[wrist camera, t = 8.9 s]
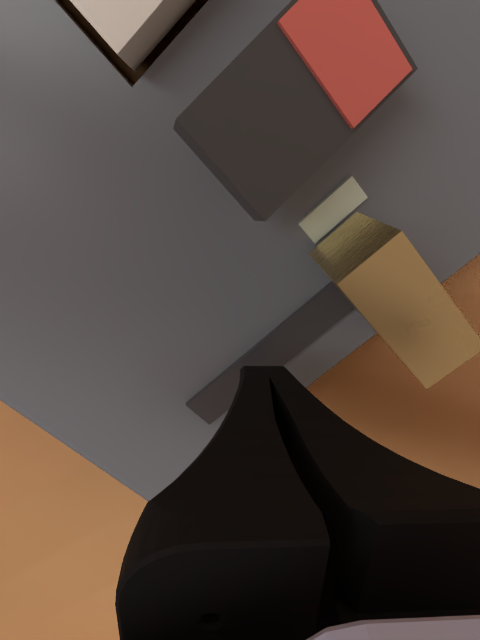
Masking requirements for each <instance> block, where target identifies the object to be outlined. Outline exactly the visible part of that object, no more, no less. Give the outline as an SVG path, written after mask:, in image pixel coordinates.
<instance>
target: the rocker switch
mask: <svg viewBox="0 0 480 640" xmlns="http://www.w3.org/2000/svg"><path fill="white" fill-rule="evenodd" d="M417 69H418V68H417V66H416V64H415V63H414V61H413V59H412V58H411V56H410V54H409V53H408V51H407V49H406V48H405V46H404V44H403V43H402V41H401V39H400V38H399V36H398V34H397V33H396V31H395V29H394V28H393V26H392V24H391V23H390V21H389V19H388V18H387V16H386V14H385V13H384V11H383V9H382V8H381V6H380V4H379V3H378V1H377V0H292V1H291V2H290V3H289V4H288V5H287V6H286V7H285V8H284V9H283V10H282V11H281V12H280V13H279V14H278V15H277V16H276V17H275V18H274V19H273V20H272V21H271V22H270V23H269V24H268V25H267V26H266V27H265V28H264V29H263V30H262V31H261V32H260V33H259V34H258V35H257V36H256V37H255V38H254V39H253V40H252V41H251V42H250V43H249V44H248V45H247V47H246V48H245V49H244V50H243V51H242V52H241V53H240V54H239V55H238V56H237V57H236V58H235V59H234V60H233V61H232V62H231V63H230V64H229V65H228V66H227V67H226V68H225V69H224V70H223V71H222V72H221V73H220V74H219V75H218V76H217V77H216V78H215V79H214V80H213V81H212V82H211V83H210V84H209V85H208V86H207V87H206V88H205V89H204V90H203V91H202V92H201V93H200V94H199V95H198V96H197V97H196V99H195V100H194V101H193V102H192V103H191V104H190V105H189V106H188V107H187V108H186V109H185V110H184V111H183V112H182V113H181V114H180V115H179V116H178V117H177V118H176V120H175V124H174V128H173V129H174V131H175V132H176V133H177V134H178V135H179V136H180V137H181V138H182V140H183V141H184V142H185V143H186V144H187V145H188V146H189V147H190V149H191V150H192V151H193V152H194V153H195V154H196V155H197V157H198V158H199V159H200V160H201V161H202V162H203V163H204V164H205V166H206V167H207V168H208V169H209V170H210V171H211V172H212V173H213V175H214V176H215V177H216V178H217V179H218V180H219V181H220V183H221V184H222V185H223V186H224V187H225V188H226V189H227V190H228V192H229V193H230V194H231V195H232V196H233V197H234V198H235V199H236V201H237V202H238V203H239V204H240V205H241V206H242V207H243V209H244V210H245V211H246V212H247V213H248V214H249V215H250V216H251V218H252V219H253V220H254V221H266V220H267V219H268V218H269V217H270V216H271V215H272V214H273V213H274V212H275V211H276V210H277V209H278V208H279V207H280V206H281V205H282V204H283V203H284V202H285V201H286V200H287V199H288V198H289V197H290V196H291V195H292V194H293V193H294V192H295V191H296V190H297V189H298V188H299V187H300V186H301V185H302V184H303V183H304V182H305V181H306V180H307V179H308V178H309V177H310V176H311V175H312V174H313V173H314V172H315V171H316V170H317V169H318V168H319V167H320V166H321V165H322V164H323V163H324V162H325V161H326V160H327V159H328V158H329V157H330V156H331V155H332V154H333V153H334V152H335V151H336V150H337V149H338V148H339V147H340V146H341V145H342V144H343V143H344V142H345V141H346V140H347V139H348V138H349V137H350V136H351V135H352V134H353V133H354V132H355V131H356V130H357V129H358V128H359V127H360V126H361V125H362V124H363V123H364V122H365V121H366V120H367V119H368V118H369V117H370V116H371V115H372V114H373V113H374V112H375V111H376V110H377V109H378V108H379V107H380V106H381V105H382V104H383V103H384V102H385V101H386V100H387V99H388V98H389V97H390V96H391V95H392V94H393V93H394V92H395V91H396V90H397V89H398V88H399V87H400V86H401V85H402V84H403V83H404V82H405V81H406V80H407V79H408V78H409V77H410V76H411V75H412V74H413V73H414V72H415V71H416V70H417Z"/></svg>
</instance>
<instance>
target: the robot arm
mask: <svg viewBox="0 0 480 640" xmlns="http://www.w3.org/2000/svg"><path fill="white" fill-rule="evenodd" d="M115 606H116V613H117V620H118V628H119V635H120V640H480V489H479V488H476V487H473V486H470V485H468V484H465V483H462V482H460V481H457V480H454V479H452V478H449V477H446V476H444V475H441V474H439V473H437V472H434V471H432V470H430V469H428V468H425V467H423V466H421V465H419V464H416V463H414V462H412V461H410V460H408V459H406V458H404V457H402V456H400V455H398V454H396V453H395V452H393V451H391V450H389V449H387V448H386V447H384V446H382V445H380V444H378V443H377V442H375V441H373V440H372V439H370V438H368V437H367V436H365V435H364V434H362V433H361V432H359V431H358V430H356V429H355V428H353V427H352V426H350V425H349V424H348V423H346V422H345V421H343V420H342V419H341V418H340V417H338V416H337V415H336V414H335V413H333V412H332V411H331V410H330V409H328V408H327V407H326V406H325V405H324V404H322V403H321V402H320V401H319V400H318V399H317V398H316V397H315V396H314V395H312V394H311V393H310V392H309V391H308V390H307V389H306V388H305V387H304V386H303V385H302V384H301V383H300V382H299V381H298V380H297V379H296V378H295V377H294V376H293V375H292V374H291V373H290V372H289V371H288V370H287V369H286V368H285V367H284V366H243V367H242V368H241V369H240V382H239V385H238V389H237V391H236V394H235V397H234V400H233V402H232V404H231V406H230V408H229V410H228V412H227V414H226V416H225V418H224V420H223V422H222V423H221V425H220V427H219V428H218V430H217V432H216V433H215V435H214V436H213V438H212V439H211V440H210V442H209V443H208V444H207V446H206V447H205V448H204V449H203V451H202V452H201V453H200V454H199V456H198V457H197V458H196V459H195V460H194V461H193V462H192V463H191V464H190V465H189V466H188V467H187V468H186V469H185V470H184V471H183V472H182V473H181V474H180V476H179V477H178V478H176V479H175V480H174V481H173V482H172V483H171V484H170V485H168V486H167V487H166V488H165V489H163V490H162V491H161V492H160V493H159V494H157V495H156V496H155V497H154V498H152V499H151V500H150V501H148V503H147V505H146V506H145V508H144V510H143V512H142V514H141V516H140V518H139V521H138V523H137V525H136V527H135V529H134V532H133V534H132V536H131V539H130V542H129V544H128V547H127V550H126V553H125V556H124V559H123V563H122V567H121V571H120V576H119V580H118V585H117V589H116V602H115Z"/></svg>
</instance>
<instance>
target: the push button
mask: <svg viewBox="0 0 480 640" xmlns="http://www.w3.org/2000/svg"><path fill="white" fill-rule="evenodd" d="M70 1H71V2H72V3H73V4H74V6H75V7H76V8H77V9H78V10H79V11H80V12H81V14H82V15H83V16H84V17H85V18H86V19H87V20H88V22H89V23H90V24H91V25H92V26H93V27H94V28H95V30H96V31H97V32H98V33H99V34H100V35H101V36H102V38H103V39H104V40H105V41H106V42H107V43H108V44H109V46H110V47H111V48H112V49H113V50H114V51H115V52H116V54H117V55H118V56H119V57H120V58H121V59H122V60H123V61H124V62H125V63H126V64H127V65H128V66H129V67H130V68H131V69H132V70H133V71H135V70H136V69H137V68H138V66H139V65H140V64H141V63H142V62H143V61H144V60H145V58H146V57H147V56H148V55H149V54H150V53H151V52H152V50H153V49H154V48H155V47H156V46H157V45H158V43H159V42H160V41H161V40H162V39H163V38H164V37H165V35H166V34H167V33H168V32H169V31H170V30H171V29H172V27H173V26H174V25H175V24H176V23H177V22H178V21H179V19H180V18H181V17H182V16H183V15H184V14H185V12H186V11H187V10H188V9H189V8H190V7H191V6H192V4H193V3H194V2H195V1H196V0H70Z"/></svg>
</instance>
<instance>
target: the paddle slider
mask: <svg viewBox="0 0 480 640" xmlns="http://www.w3.org/2000/svg"><path fill="white" fill-rule="evenodd" d="M308 254H309V255H310V256H311V257H312V259H313V260H314V261H315V262H316V263H317V264H318V266H319V267H320V268H321V269H322V270H323V271H324V273H325V274H326V275H327V276H328V277H329V278H330V280H331V281H332V282H333V283H334V284H335V285H336V287H337V288H338V289H339V290H340V291H341V293H342V294H343V295H344V296H345V297H346V298H347V300H348V301H349V302H350V303H351V304H352V305H353V307H354V308H355V309H356V310H357V311H358V312H359V314H360V315H361V316H362V317H363V318H364V319H365V321H366V322H367V323H368V324H369V325H370V326H371V328H372V329H373V330H374V331H375V332H376V333H377V335H378V336H379V337H380V338H381V339H382V340H383V342H384V343H385V344H386V345H387V346H388V347H389V348H390V349H391V350H392V352H393V353H394V354H395V355H396V356H397V357H398V358H399V359H400V360H401V362H402V363H403V364H404V365H405V366H406V367H407V368H408V369H409V370H410V372H411V373H412V374H413V375H414V376H415V377H416V378H417V379H418V380H419V382H420V383H421V384H422V385H423V386H424V387H425V388H426V389H428V388H430V387H431V386H432V385H434V384H435V383H437V382H438V381H439V380H441V379H442V378H444V377H445V376H447V375H448V374H449V373H451V372H452V371H454V370H455V369H456V368H458V367H459V366H461V365H462V364H463V363H465V362H466V361H468V360H469V359H470V358H472V357H473V356H475V355H476V354H478V353H479V352H480V337H479V336H478V335H477V333H476V332H475V331H474V329H473V328H472V326H471V325H470V324H469V322H468V321H467V320H466V318H465V317H464V315H463V314H462V313H461V311H460V310H459V309H458V307H457V306H456V304H455V303H454V302H453V300H452V299H451V298H450V296H449V295H448V293H447V292H446V291H445V289H444V288H443V287H442V285H441V284H440V282H439V281H438V280H437V278H436V277H435V276H434V274H433V273H432V271H431V270H430V269H429V267H428V266H427V265H426V263H425V262H424V260H423V259H422V258H421V256H420V255H419V254H418V252H417V251H416V249H415V248H414V247H413V245H412V244H411V243H410V241H409V240H408V238H407V237H406V236H405V234H404V233H403V232H402V230H399V229H397V228H394V227H392V226H390V225H387V224H385V223H382V222H380V221H377V220H375V219H373V218H370V217H368V216H365V215H363V214H361V213H358V212H356V213H354V214H353V215H352V216H351V217H350V218H349V219H347V220H346V221H345V222H344V223H343V224H342V225H341V226H339V227H338V228H337V229H336V230H335V231H334V232H333V233H331V234H330V235H329V236H328V237H327V238H326V239H324V240H323V241H322V242H321V243H320V244H319V245H318V246H316V247H315V248H314V249H313V250H312V251H311V252H310V253H308Z"/></svg>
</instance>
